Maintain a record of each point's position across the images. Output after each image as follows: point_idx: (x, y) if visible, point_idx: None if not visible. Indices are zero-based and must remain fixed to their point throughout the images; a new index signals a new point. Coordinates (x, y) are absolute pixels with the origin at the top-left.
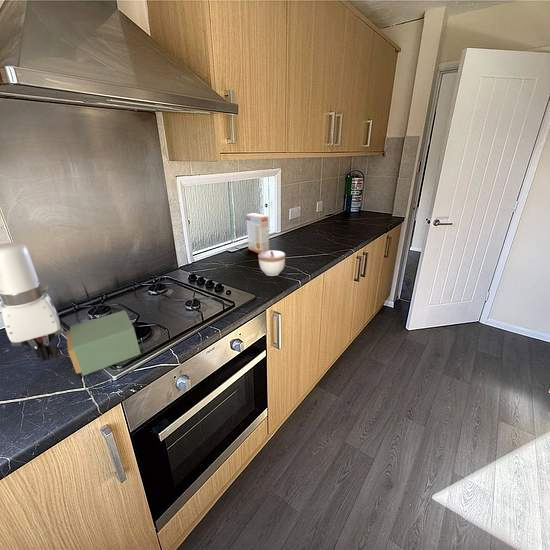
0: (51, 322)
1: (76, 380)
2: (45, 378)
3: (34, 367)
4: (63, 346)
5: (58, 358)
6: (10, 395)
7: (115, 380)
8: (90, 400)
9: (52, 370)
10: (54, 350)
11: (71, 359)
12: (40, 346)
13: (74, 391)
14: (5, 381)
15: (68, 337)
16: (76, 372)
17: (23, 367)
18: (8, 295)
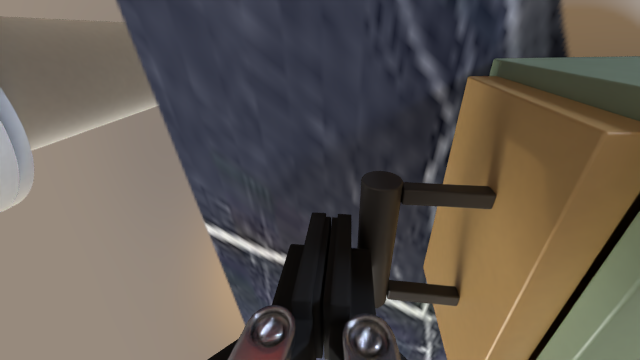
0: None
1: (411, 270)
2: (314, 191)
3: (258, 61)
4: (448, 206)
5: (391, 295)
6: (214, 209)
7: None
8: (420, 354)
9: (339, 152)
10: (385, 240)
11: (444, 345)
12: (314, 343)
13: (394, 307)
14: (160, 103)
15: (544, 286)
16: (425, 274)
17: (201, 17)
18: None
